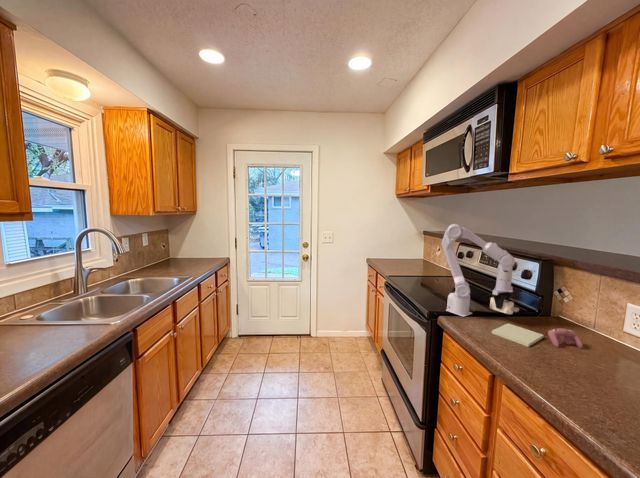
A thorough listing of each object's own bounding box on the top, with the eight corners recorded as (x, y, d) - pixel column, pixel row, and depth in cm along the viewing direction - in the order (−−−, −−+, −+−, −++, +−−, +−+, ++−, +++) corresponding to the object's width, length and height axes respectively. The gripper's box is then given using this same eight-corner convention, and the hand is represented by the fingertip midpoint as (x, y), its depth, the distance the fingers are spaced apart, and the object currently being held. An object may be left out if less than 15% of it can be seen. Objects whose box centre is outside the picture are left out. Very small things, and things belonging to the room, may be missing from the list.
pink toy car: (575, 348, 107) (571, 329, 110) (585, 348, 103) (580, 328, 105) (548, 346, 108) (544, 327, 111) (556, 346, 104) (552, 327, 106)
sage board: (491, 333, 115) (491, 330, 115) (507, 325, 123) (508, 323, 123) (528, 346, 105) (528, 343, 104) (543, 337, 112) (543, 334, 112)
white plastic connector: (488, 307, 133) (489, 297, 132) (491, 306, 135) (492, 296, 134) (515, 316, 123) (516, 305, 122) (519, 314, 125) (520, 304, 124)
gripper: (505, 283, 121) (502, 313, 122) (521, 279, 128) (517, 307, 130) (488, 279, 127) (486, 308, 128) (504, 275, 134) (501, 302, 136)
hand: (501, 307), depth 130 cm, fingers closed on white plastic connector, 4 cm apart
